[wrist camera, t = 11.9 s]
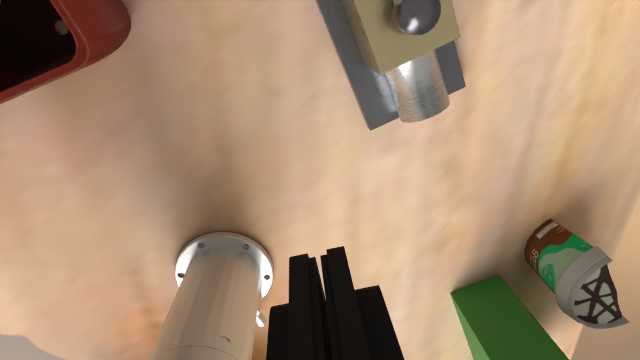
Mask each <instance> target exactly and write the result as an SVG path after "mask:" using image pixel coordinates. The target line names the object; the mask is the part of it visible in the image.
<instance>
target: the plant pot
mask: <svg viewBox="0 0 640 360" xmlns="http://www.w3.org/2000/svg"><path fill="white" fill-rule="evenodd" d="M57 19H60V20H63V21H64V22H65V24H66V25H67V27H68V32H67V34H65V35H60V34H58V33H57V32H55V30H54V28H53V22H54V20H57ZM130 29H131V20H130V16H129V14H128V12H127V11H126V9H125V7H124V5H123V3H122V2H121V0H1V3H0V104H1V103H4V102H6V101H8V100H11V99H13V98H15V97H17V96H20V95H22V94H24V93H26V92H29V91H31V90H33V89H36V88H38V87H40V86H43V85H45V84H47V83H50V82H52V81H54V80H57V79H59V78H61V77H63V76H66V75H68V74H70V73H73V72H75V71H77V70H80V69H82V68H84V67H87V66H89V65H91V64H94V63H96V62H98V61H100V60H101V59H103V58H105V57H107V56H108V55H110V54H111V53H113V52H114V51H115V50H117V49H118V48H119V47H120V46H121V45H122V44H123V42H124V41H125V40H126V39H127V37H128V34H129V32H130Z"/></svg>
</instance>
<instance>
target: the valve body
mask: <svg viewBox="0 0 640 360" xmlns="http://www.w3.org/2000/svg"><path fill="white" fill-rule="evenodd" d="M316 2H317V5H318V7H319V9H320V12H321V14H322V17H323V19H324V22H325V24H326V26H327V29H328V31H329V34H330V36H331V39H332V41H333V44H334V46H335V48H336V51H337V53H338V56H339V58H340V61H341V63H342V65H343V68H344V70H345V73H346V75H347V78H348V80H349V83H350V85H351V87H352V90H353V92H354V95H355V97H356V100H357V102H358V104H359V107H360V109H361V112H362V114H363V117H364V119H365V122H366V124H367V126H368V128H369V129H370V131H371V130H373V129H375V128H377V127H380V126H382V125H384V124H386V123H388V122H390V121H393V120H395V119H397V118H399V117H400V120H401V121H402V122H408V123H409V122H417V121H421V120H425V119H428V118H430V117H433V116H435V115H437V114H439V113H441V112H442V111H444V110H445V109H446V108H447V107H448V106H449V104H450V101H449V97H448V95H449V94H451V93H453V92H455V91H458V90H460V89H462V88H464V87H466V86H465V82H464V78H463V74H462V70H461V66H460V63H459V59H458V55H457V51H456V47H455V44H454V40H455V39H457V38H459V37H460V33H459V30H458V26H457V22H456V18H455V14H454V10H453V6H452V2H451V0H440V3H441V14H440V18H439V20H438V22H437V24H436V25H435V27H434V28H433V29H432V30H430V31H429V32H427V33H425V34H422V35H409V34H403V33H401V32H400V31H398V30H397V29H396V27H395V26H394V24H393V21H392V9H393V6H394V3H393V0H316Z"/></svg>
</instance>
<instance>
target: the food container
mask: <svg viewBox="0 0 640 360" xmlns="http://www.w3.org/2000/svg"><path fill="white" fill-rule="evenodd" d="M525 258H526V260H527V262H528V263H529V264H530V265H531V267H532V268H533V269H534V270H535V271H536V272H537V274H538V275H539V276H540V277H541V278H542V279H543V281H544V282H545V283H546V284H547V285H548V287H549V288H550V289H551V290H552V291H553V292H554V294H555V295H556V300H557V304H558V306H559V308H560V309H561V310H562V311H563V312H564V313H565V314H567V315H568V316H570V317H571V318H573V319H574V320H576V321H577V322H579V323H581V324H583V325H585V326H588V327H591V328H596V329H606V328H613V327H618V326H621V325H624V324H627V323H629V321H628V320H627V319H626V318H625V317H624V316H623V315H622V314H621V311H620V309H619V305H618V300H617V292H616V289H615V286H614V283H613V281H612V279H611V276H610V274H609V270H608V266H607V264H608V263H610V262H612V259H610V258H609V257H608V256H607V255H606V254H605V253H604V252H603V251H602V250H601V249H599V248H598V247H597V246H595V247H592V246H591V245H589V244H588V243H586V242H585V241H583V240H582V239H580V238H579V237H577V236H576V235H574V234H573V233H571V232H570V231H568V230H567V229H565V228H564V227H562V226H561V225H559V224H558V223H556V222H555V221H553V220H552V219H549V220H548V221H546V222H544V223H543V224H542V225H540V226H539V227H538V228H537V229H536V230H535V231H534V232H533V233H532V235H531V236H530V237H529V239H528V240H527V243H526V246H525Z"/></svg>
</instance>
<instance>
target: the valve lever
mask: <svg viewBox="0 0 640 360" xmlns="http://www.w3.org/2000/svg"><path fill="white" fill-rule="evenodd" d="M393 3H394V6H393V9H392V21H393V24H394V26H395V27H396V29H397V30H398V31H400V32H401V33H403V34H409V35H422V34H425V33H427V32H429V31H430V30H432V29H433V28H434V27H435V25H436V24H437V22H438V20H439V18H440V14H441V3H440V0H393Z"/></svg>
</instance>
